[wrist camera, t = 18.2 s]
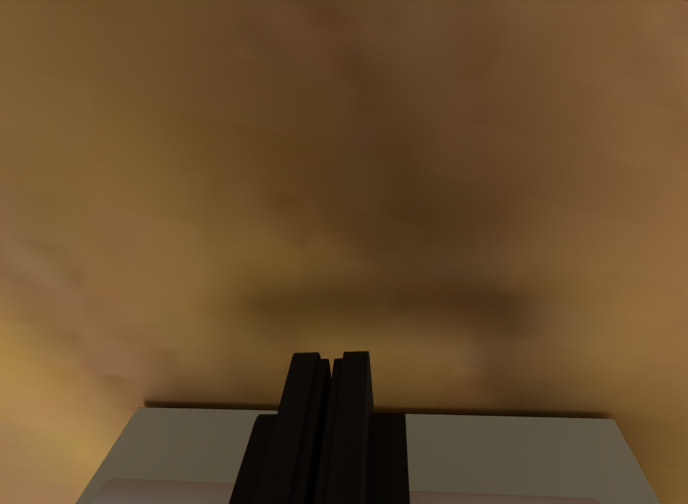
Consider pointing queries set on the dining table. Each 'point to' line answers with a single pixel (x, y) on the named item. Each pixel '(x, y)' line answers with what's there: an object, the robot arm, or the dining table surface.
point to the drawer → (422, 448)
